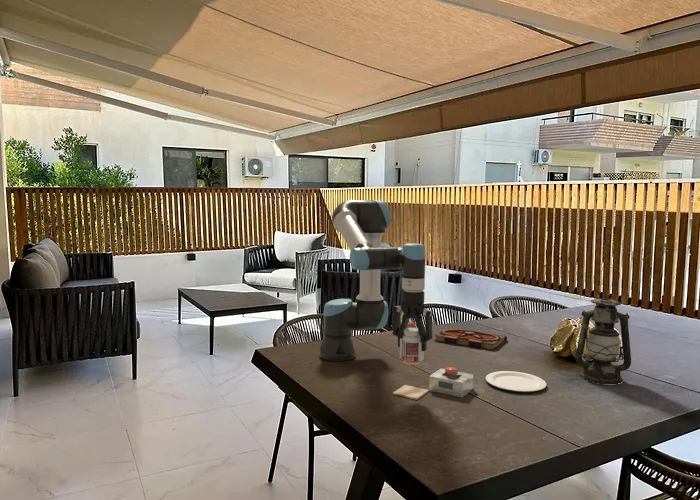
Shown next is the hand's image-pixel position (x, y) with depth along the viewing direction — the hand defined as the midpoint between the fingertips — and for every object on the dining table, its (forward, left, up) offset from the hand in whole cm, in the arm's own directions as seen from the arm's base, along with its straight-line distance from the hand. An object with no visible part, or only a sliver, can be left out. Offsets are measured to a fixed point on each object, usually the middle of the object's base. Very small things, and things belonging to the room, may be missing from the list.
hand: (411, 358), depth 175 cm
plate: (+27, +30, -13) cm, 42 cm away
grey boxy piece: (+10, +11, -12) cm, 19 cm away
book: (-7, +76, -13) cm, 78 cm away
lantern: (+53, +51, -12) cm, 74 cm away
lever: (+10, +11, -11) cm, 19 cm away
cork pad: (0, 0, -12) cm, 12 cm away
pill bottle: (0, 0, -2) cm, 2 cm away
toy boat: (-32, +65, -13) cm, 74 cm away
